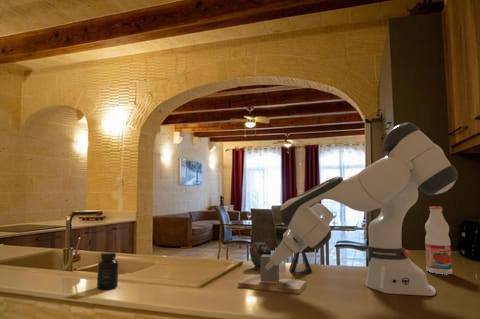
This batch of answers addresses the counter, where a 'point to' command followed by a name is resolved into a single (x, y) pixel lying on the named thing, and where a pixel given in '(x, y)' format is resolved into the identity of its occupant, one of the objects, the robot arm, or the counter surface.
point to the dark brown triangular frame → (294, 264)
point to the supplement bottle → (107, 271)
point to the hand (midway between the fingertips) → (268, 266)
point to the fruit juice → (437, 243)
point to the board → (273, 285)
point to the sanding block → (268, 271)
